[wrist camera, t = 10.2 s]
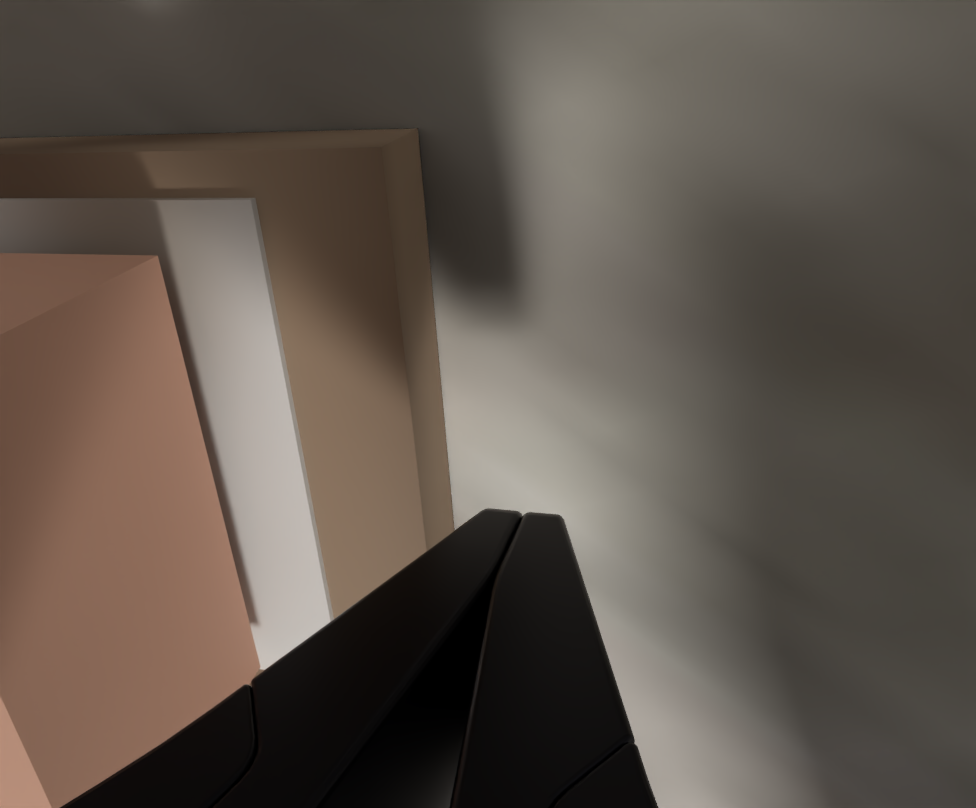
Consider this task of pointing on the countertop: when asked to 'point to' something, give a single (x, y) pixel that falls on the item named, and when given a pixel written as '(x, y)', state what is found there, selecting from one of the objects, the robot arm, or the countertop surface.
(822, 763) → the countertop surface
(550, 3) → the countertop surface
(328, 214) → the switch base
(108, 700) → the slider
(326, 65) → the countertop surface
